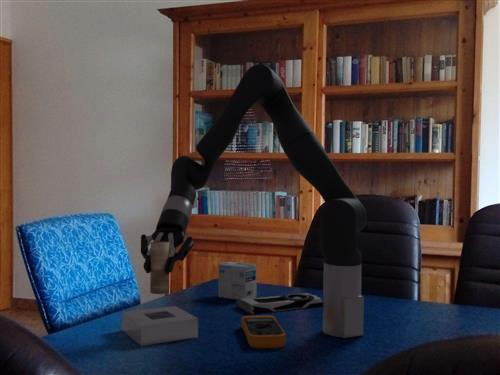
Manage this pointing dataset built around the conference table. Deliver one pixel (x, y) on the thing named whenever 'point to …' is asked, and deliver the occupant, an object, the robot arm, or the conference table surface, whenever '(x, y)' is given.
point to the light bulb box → (237, 280)
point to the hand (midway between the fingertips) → (156, 271)
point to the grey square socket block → (159, 325)
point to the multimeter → (263, 331)
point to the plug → (159, 268)
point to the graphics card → (279, 303)
